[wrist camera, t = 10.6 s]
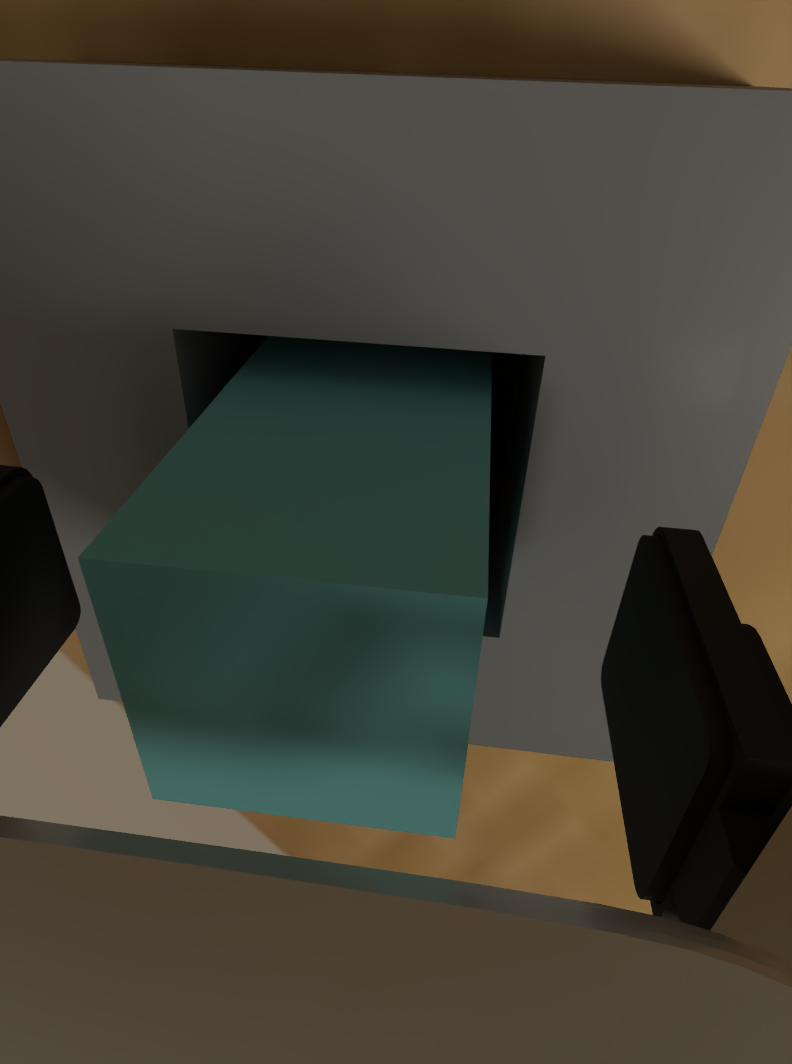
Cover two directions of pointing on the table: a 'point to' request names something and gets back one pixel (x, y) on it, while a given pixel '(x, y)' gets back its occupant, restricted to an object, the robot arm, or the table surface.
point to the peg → (310, 587)
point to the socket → (409, 304)
